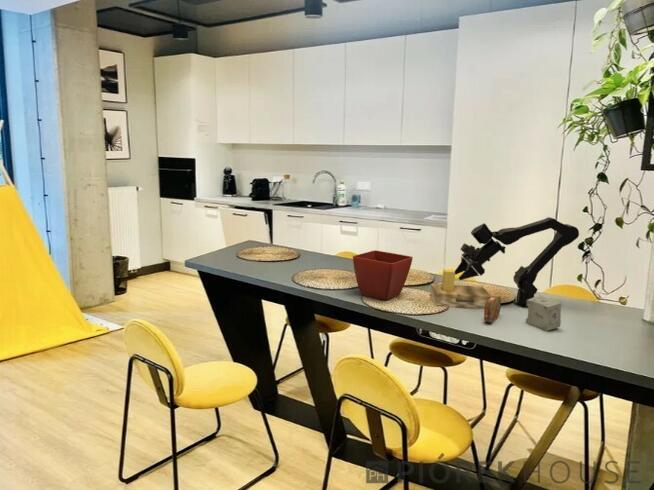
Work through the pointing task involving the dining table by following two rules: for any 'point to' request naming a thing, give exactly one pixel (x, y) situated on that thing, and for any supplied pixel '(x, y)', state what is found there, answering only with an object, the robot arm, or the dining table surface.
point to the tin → (492, 309)
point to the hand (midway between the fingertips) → (456, 276)
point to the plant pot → (381, 273)
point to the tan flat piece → (460, 296)
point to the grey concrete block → (543, 313)
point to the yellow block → (448, 280)
